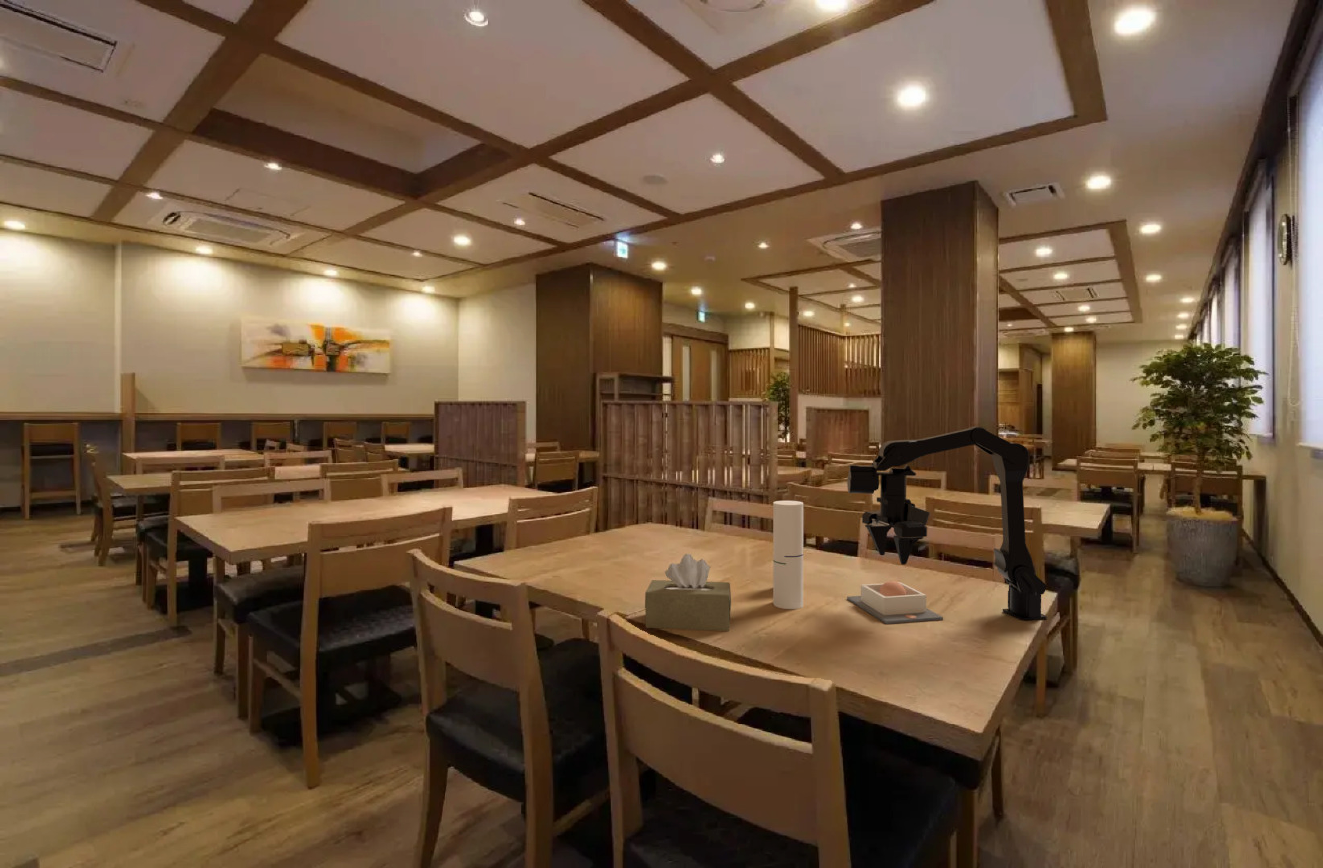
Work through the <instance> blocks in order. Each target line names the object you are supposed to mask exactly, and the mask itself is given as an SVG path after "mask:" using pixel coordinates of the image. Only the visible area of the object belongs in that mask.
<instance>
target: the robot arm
mask: <svg viewBox="0 0 1323 868" xmlns="http://www.w3.org/2000/svg"><path fill="white" fill-rule="evenodd" d="M973 445H974V446H975V447H978V448H979V449H980V450H981V451H983V452H984V453H986V454H988V455H990V456H991V459H992V463H993V466H994V467H993V468H994V471H995V472H996V474H997V477H998V479H999V480H998V481H999V482H1000V483H999V485H1000V505H1001V525H1002V526H1001V527H1002V544H1001V545H1000V548H993V553H994V554H993V555H994V557H995V558H994V562H993V565H994V567H996V568H997V572H998V573H1000V575H1002V577H1004V578H1005V581H1006V584H1008V590H1007V608H1003V609H1002V612H1004V613H1006V614H1008V615H1010V616H1013V617H1014V618H1017V619H1020V620H1022V621H1028V620H1029V621H1030V620H1040V619H1041V620H1042V619H1045V620H1046V619H1048V616H1047V615H1046V614H1044V613H1042V595H1044V594H1045V592H1046V590H1047V587H1048V585H1047V584H1046V583H1045V582H1044V581H1042V580H1041V578H1039V577H1038V576H1037V575H1036V570H1035V566H1034V561H1033V558H1032V556H1031V553H1030V550H1029V549H1028V546H1027V543H1026V540H1027V539H1026V519H1025V505H1024V503H1025V502H1024V480H1025V479H1026V475H1027V472H1028V470H1029V462H1030V452H1029V449H1028V448H1027V447H1026V446H1024V445H1023V444H1020V443H1017V442H1010V441H1008V440H1006V439H1004V438H1002V437H999V436H997V435H996V434H994V433H991V432H990V431H988V430H987V429H985V428H984V427H981V426H970V427H968V428H965V429H964V428H963V429H959V430H955V431H951V432H947V433H943V434H939V435H938V434H937V435H934V436H928V437H924V438H919V439H900V440H899V439H898V440H888V441H885V442H884V443H882V445H881V446H880V447H879V453H878V455H877V456H876V458H875V459H874V461H872V463H870V465H857V464H849V466H848V467H849V468H848V475H847V479H846V480H847V481H846V484H847V485H846V486H847V492H848V494H862V495H863V494H866V495H867V494H868V495H872V494H874V493H875V491H877V490H879V488H880V492H879V493H880V496H879V497H878V496H877V497H876V502H877V503H880V504H879V506H880V508H879V509H880V510H873V511H865V512H864V513H863V514H862V515H861V518H862V519H861V520H862V521H861V522H862V523H863V524H864V527H865V528H866V529H867V531H868V533H869V535H870V537H871V539H872V541H873V543H874V545H875V548H876V550H877V551H878V554H879V555H880V556H885V554H886V548H887V539H888V532H889V531H891V529H892V528H893V532H894V535H893V540H894V543H895V544H894V545H895V547H896V551H897V555H898V560H899V562H900V565H903V566H904V565H907V563H908V560H909V557H910V555H911V552H912V549H913V547H914V546H915V544H916V543H917V542H918V541H919V540H923V539H924V537H925V538H926V537H928V527H927V523H928V520H929V517H930V515H931V512H930V511H926V510H924V509H921V508H919V507H916V505H915V503H913V502H912V500H911V499H909V498H907V476H908V477H916V476H917V473H916V472H915V471H914V470H913V469H912V468H911V466H910V465H909V464H910V463H911V462H914V461H916V460H918V459H920V458H922V457H925V456H927V455H933V454H936V453H937V454H938V453H942V452H946V451H950V450H955V449H960V448H965V447H969V446H973ZM902 466H903V467H902ZM888 470H889V471H888Z"/></svg>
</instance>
